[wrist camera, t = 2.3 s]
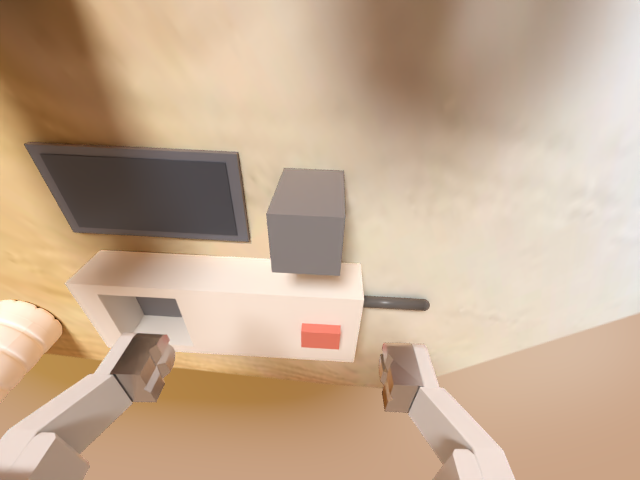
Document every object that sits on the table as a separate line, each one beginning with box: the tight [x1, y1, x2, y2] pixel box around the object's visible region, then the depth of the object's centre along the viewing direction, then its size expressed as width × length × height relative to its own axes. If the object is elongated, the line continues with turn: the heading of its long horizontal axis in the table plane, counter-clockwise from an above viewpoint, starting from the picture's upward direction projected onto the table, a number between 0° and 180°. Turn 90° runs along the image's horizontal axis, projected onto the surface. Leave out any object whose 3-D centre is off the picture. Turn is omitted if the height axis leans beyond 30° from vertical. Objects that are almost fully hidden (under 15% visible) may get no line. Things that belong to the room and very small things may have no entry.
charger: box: [266, 168, 345, 276], centre depth 18 cm, size 4×4×6 cm
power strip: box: [65, 250, 430, 362], centre depth 25 cm, size 28×8×5 cm, turn 88°
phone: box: [24, 142, 250, 242], centre depth 21 cm, size 14×7×1 cm, turn 88°
